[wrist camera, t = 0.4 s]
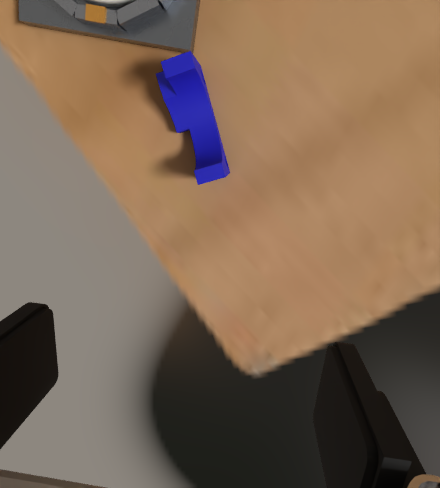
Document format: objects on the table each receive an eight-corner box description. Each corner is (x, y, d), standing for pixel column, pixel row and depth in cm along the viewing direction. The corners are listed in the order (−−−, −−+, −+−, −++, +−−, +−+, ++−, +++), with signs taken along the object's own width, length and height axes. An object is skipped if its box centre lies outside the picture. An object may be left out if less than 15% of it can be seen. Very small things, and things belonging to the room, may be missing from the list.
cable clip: (163, 79, 36) (146, 67, 31) (201, 66, 36) (190, 50, 30) (194, 182, 39) (184, 188, 34) (230, 172, 39) (225, 176, 33)
